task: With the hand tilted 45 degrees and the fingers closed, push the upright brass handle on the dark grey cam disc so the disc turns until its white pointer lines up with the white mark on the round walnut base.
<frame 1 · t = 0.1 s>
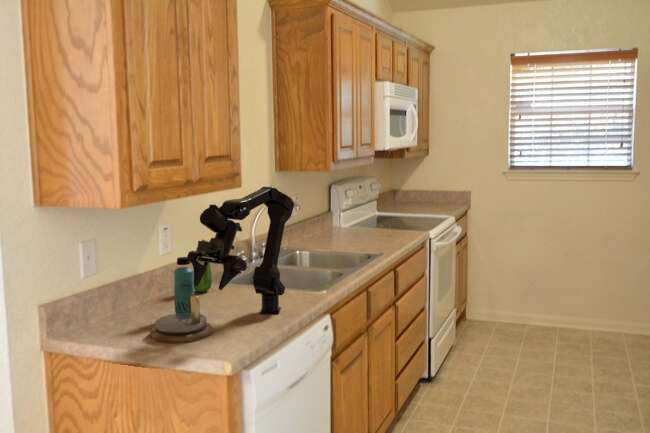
hand: (207, 287, 197), 15 cm above the worktop, tool tilted 30°, fingers open, 9 cm apart
beverage bottle: (185, 318, 220), on the worktop
stand base: (181, 333, 203), on the worktop
vegetable: (202, 292, 254), on the worktop
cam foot: (180, 310, 202), point 7 cm above the worktop, hinge at 30.0°
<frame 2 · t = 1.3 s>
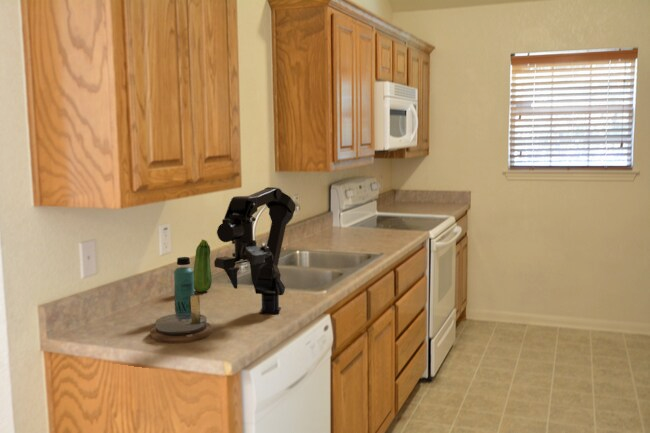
hand: (245, 286, 210), 12 cm above the worktop, tool pointing down, fingers open, 7 cm apart
nothing on the worktop moved.
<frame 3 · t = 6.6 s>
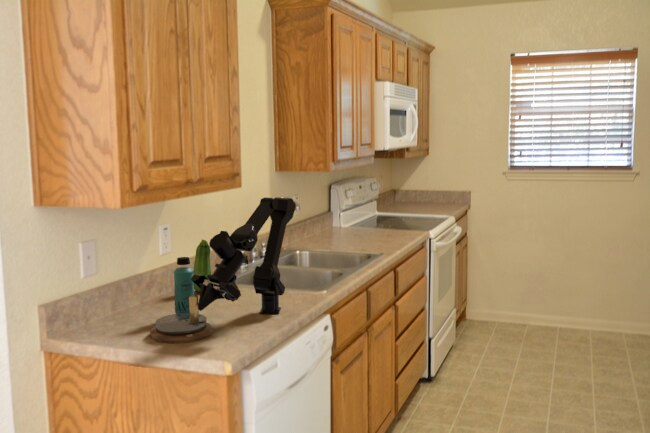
hand: (199, 309, 199), 8 cm above the worktop, tool tilted 45°, fingers closed, pressing on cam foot
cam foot: (180, 310, 202), point 7 cm above the worktop, hinge at 24.3°, touching gripper
everything else where it was.
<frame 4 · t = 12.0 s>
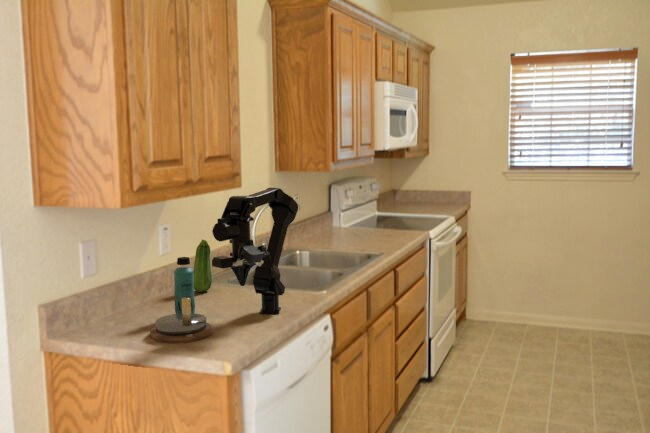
hand: (242, 285, 211), 12 cm above the worktop, tool pointing down, fingers closed
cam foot: (180, 310, 202), point 7 cm above the worktop, hinge at 0.6°
everything else where it was.
at the end: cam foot at +1° (first picture: +30°); beverage bottle moved 0.2 cm from its start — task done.
